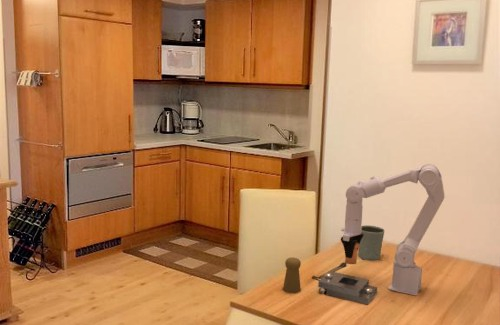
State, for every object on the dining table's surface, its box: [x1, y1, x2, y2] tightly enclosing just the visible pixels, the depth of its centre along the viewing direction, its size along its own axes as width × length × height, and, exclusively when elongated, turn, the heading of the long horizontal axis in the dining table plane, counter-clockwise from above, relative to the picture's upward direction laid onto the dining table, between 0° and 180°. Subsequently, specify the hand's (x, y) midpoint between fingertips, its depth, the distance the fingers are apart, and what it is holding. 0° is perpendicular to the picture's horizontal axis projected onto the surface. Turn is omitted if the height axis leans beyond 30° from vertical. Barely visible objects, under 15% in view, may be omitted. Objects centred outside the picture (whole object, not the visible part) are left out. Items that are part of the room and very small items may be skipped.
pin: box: [344, 243, 359, 265], centre depth 180 cm, size 5×5×7 cm
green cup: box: [357, 225, 385, 262], centre depth 205 cm, size 10×10×12 cm
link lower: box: [325, 283, 378, 305], centre depth 169 cm, size 14×11×3 cm
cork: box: [282, 257, 302, 294], centre depth 171 cm, size 6×6×11 cm
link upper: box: [317, 270, 370, 297], centre depth 171 cm, size 14×11×5 cm
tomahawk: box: [311, 261, 347, 282], centre depth 187 cm, size 21×7×1 cm, turn 137°
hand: (351, 255), depth 180 cm, fingers closed on pin, 5 cm apart
